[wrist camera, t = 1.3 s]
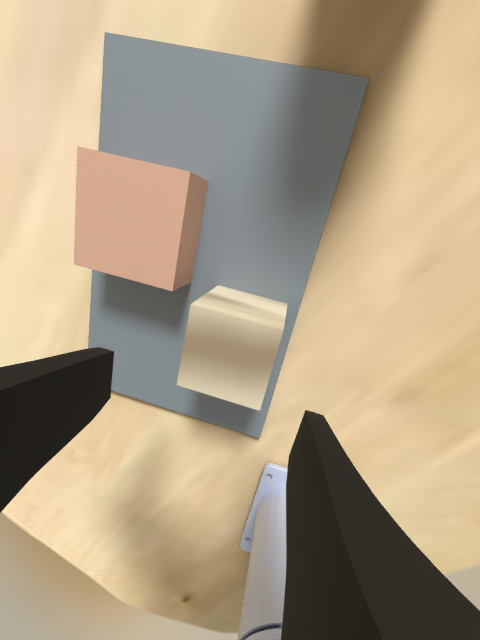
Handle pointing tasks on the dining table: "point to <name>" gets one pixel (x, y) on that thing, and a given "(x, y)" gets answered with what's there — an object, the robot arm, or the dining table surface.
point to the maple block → (231, 345)
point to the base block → (137, 219)
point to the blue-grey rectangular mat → (219, 198)
